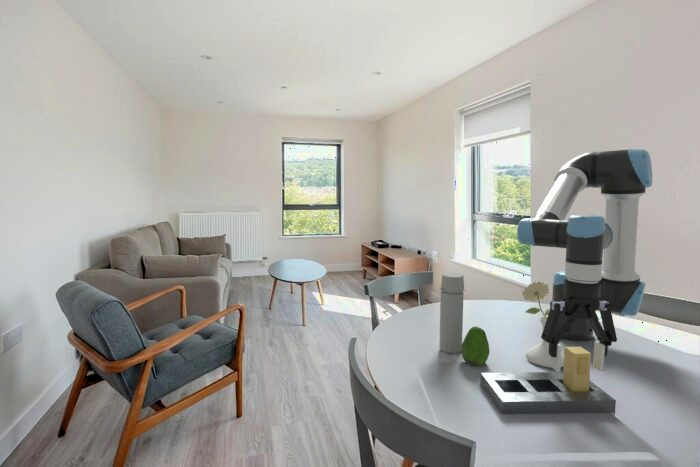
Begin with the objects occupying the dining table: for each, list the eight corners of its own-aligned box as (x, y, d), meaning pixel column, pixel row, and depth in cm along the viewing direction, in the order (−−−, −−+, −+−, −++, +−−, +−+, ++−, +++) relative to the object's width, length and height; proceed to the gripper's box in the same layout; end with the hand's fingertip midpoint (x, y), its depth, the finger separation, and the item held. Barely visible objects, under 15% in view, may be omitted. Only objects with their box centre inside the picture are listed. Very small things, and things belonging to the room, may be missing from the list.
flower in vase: (563, 358, 119) (567, 279, 116) (571, 374, 108) (576, 288, 105) (517, 352, 123) (521, 276, 120) (521, 368, 112) (524, 284, 110)
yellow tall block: (578, 392, 96) (580, 346, 95) (590, 402, 92) (592, 354, 91) (562, 392, 96) (564, 347, 95) (573, 402, 92) (575, 354, 90)
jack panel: (577, 386, 102) (578, 371, 101) (614, 416, 88) (615, 400, 87) (480, 387, 101) (480, 372, 101) (502, 418, 87) (502, 401, 87)
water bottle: (464, 355, 121) (466, 278, 118) (438, 353, 122) (440, 277, 120) (461, 344, 130) (463, 272, 127) (437, 342, 131) (439, 271, 129)
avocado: (485, 373, 109) (486, 333, 107) (457, 367, 113) (459, 327, 112) (491, 363, 115) (492, 324, 114) (465, 357, 120) (466, 320, 118)
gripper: (617, 276, 95) (611, 361, 98) (528, 276, 95) (524, 362, 97) (640, 283, 88) (633, 375, 90) (543, 283, 87) (539, 376, 90)
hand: (576, 369), depth 94 cm, fingers open, 10 cm apart
